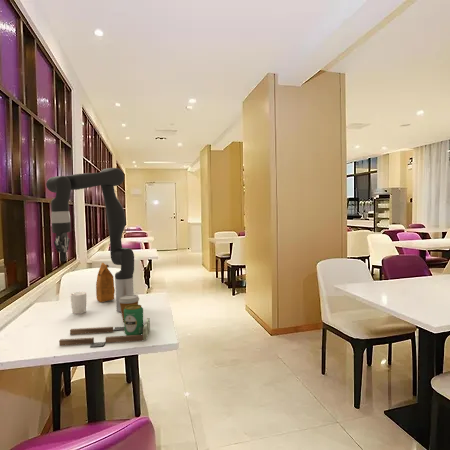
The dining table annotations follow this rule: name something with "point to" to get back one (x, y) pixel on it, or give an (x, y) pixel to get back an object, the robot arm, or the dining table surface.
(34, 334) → the dining table surface
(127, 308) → the beverage can
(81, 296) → the white cup
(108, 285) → the coffee package
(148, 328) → the walnut track
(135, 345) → the dining table surface
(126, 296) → the disposable coffee cup
